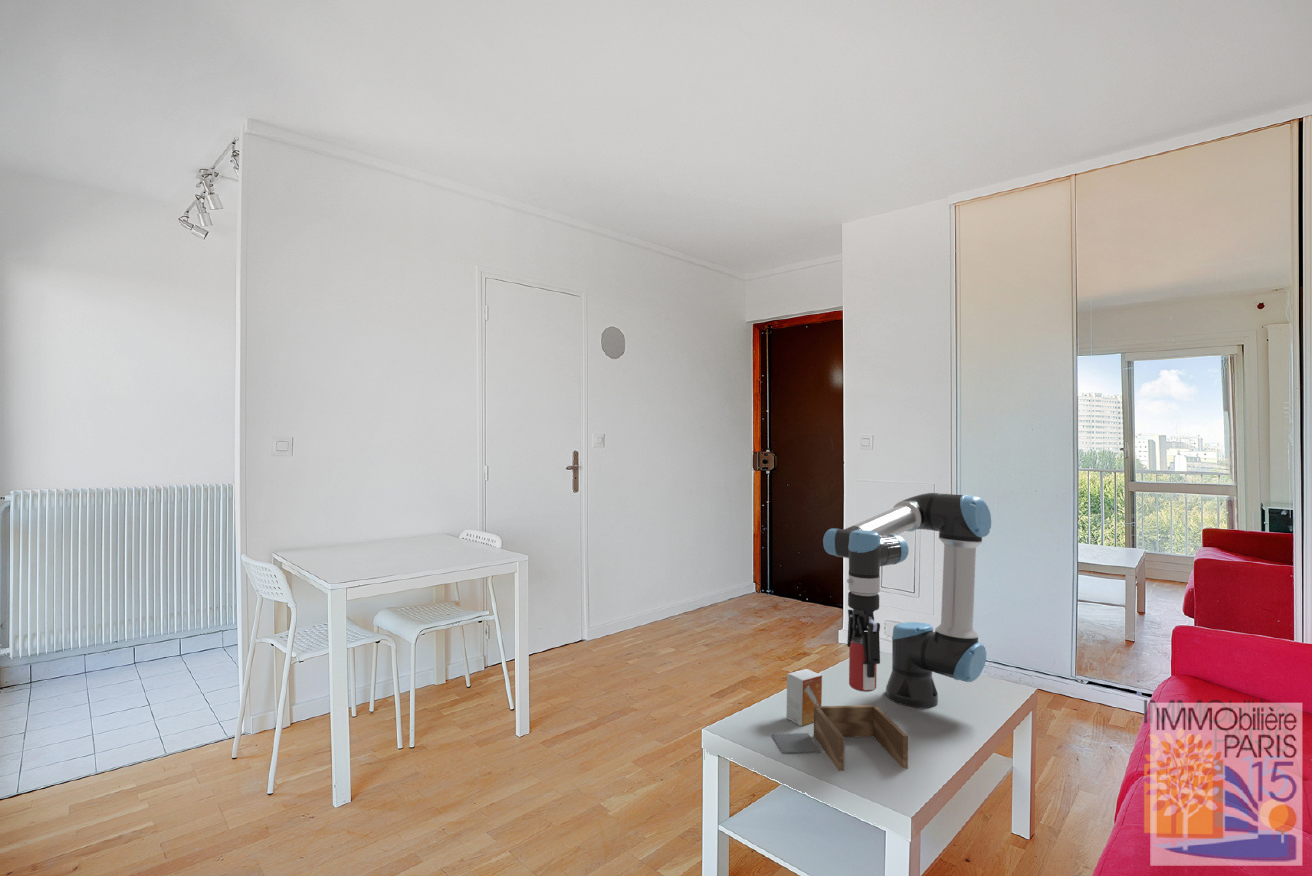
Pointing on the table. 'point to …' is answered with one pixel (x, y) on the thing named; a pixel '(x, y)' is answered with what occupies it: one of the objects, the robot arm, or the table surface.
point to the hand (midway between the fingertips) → (862, 683)
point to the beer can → (857, 664)
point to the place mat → (796, 743)
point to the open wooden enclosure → (858, 731)
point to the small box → (803, 695)
